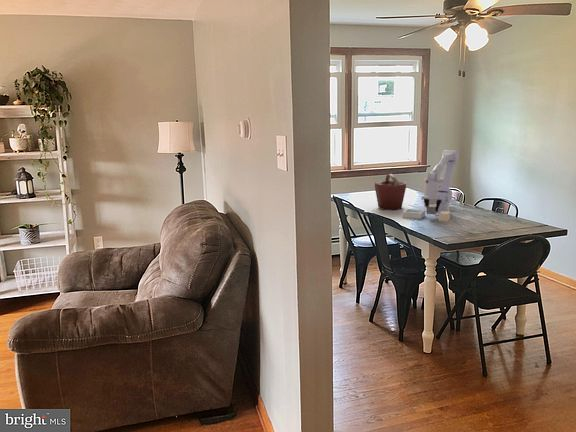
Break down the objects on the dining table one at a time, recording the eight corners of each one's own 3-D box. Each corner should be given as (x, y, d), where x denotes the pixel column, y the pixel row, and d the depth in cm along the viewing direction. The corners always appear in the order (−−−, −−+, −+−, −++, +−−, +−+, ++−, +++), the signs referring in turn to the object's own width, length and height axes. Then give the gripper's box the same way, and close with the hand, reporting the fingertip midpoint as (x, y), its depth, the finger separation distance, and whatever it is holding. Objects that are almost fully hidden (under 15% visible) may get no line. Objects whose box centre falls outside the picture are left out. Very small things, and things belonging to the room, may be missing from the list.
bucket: (405, 211, 337) (406, 176, 332) (374, 210, 342) (374, 176, 336) (404, 204, 361) (405, 172, 355) (374, 204, 365) (375, 172, 360)
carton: (441, 218, 314) (441, 210, 313) (449, 219, 312) (450, 211, 311) (438, 220, 308) (438, 213, 307) (447, 221, 305) (447, 214, 304)
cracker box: (442, 204, 358) (443, 177, 353) (444, 206, 352) (445, 178, 347) (423, 204, 359) (424, 177, 354) (424, 206, 353) (425, 178, 349)
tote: (407, 214, 328) (407, 208, 327) (425, 215, 322) (425, 210, 321) (402, 217, 318) (402, 211, 317) (420, 219, 312) (420, 213, 311)
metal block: (429, 211, 318) (429, 204, 317) (438, 212, 315) (438, 204, 314) (426, 213, 311) (426, 206, 310) (435, 214, 308) (435, 206, 307)
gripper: (420, 190, 310) (419, 211, 313) (443, 192, 303) (442, 212, 306) (423, 189, 316) (422, 209, 319) (445, 190, 309) (444, 210, 312)
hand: (432, 210), depth 313 cm, fingers closed on metal block, 5 cm apart
